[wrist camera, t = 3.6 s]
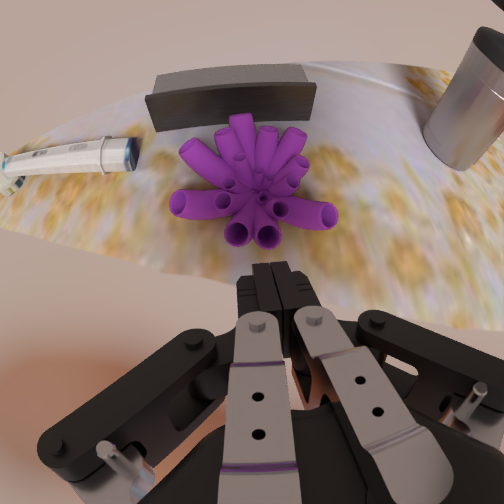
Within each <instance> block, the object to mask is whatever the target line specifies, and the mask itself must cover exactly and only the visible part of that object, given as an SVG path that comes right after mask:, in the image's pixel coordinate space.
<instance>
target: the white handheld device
mask: <svg viewBox="0 0 504 504" xmlns="http://www.w3.org/2000/svg"><path fill="white" fill-rule="evenodd" d="M138 157H139V144H138V140H137V137H136V138H112V137H111V136H103V137H102V139H101V140H93V141H86V142H79V143H73V144H67V145H61V146H55V147H50V148H45V149H40V150H35V151H30V152H26V153H21V154H17V155H13V156H9V157H8V155H6V154H5V153H2V152H0V193H1V194H2V195H4V196H11V194H12V193H14V192H15V191H18V189H19V188H20V187H21V185H22V184H23V181H24V179H25V176H26V175H39V174H55V173H77V172H101V173H102V175H106V174H108V173H110V172H117V171H134V170H135V168H136V164H137V161H138Z"/></svg>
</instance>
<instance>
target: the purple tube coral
mask: <svg viewBox="0 0 504 504" xmlns="http://www.w3.org/2000/svg"><path fill="white" fill-rule="evenodd" d="M214 138H215V142H216V146H217V149H218V151H219V154H220V156H221V157H219V156H218V155H217V154H215V153H214V152H213V151H212V150H211V149H209V148H208V147H207V146H206V145H205V144H204V143H202V142H201V141H200V140H199V139H197V138H192V139H190V140H188V141H187V142H186V143H185V144H184V145H183V146H182V147H181V148H180V150H179V155H180V156H181V158H182V159H183V160H184V161H185V162H186V164H187V165H188V166H189V167H190V168H191V169H193V170H194V171H195V172H196V173H197V174H198V175H199V176H201V177H202V178H203V179H205V180H206V181H207V182H209V183H211V184H212V185H214V186H215V187H217V188H219V189H216V190H186V189H180V190H177V191H175V192H174V193H173V195H172V196H171V198H170V203H169V207H170V211H171V213H173V214H174V215H175V216H178V217H181V218H185V219H190V220H208V219H216V218H221V217H226V216H230V215H233V217H232V219H231V220H230V221H229V223H228V224H227V226H226V228H225V230H224V236H225V239H226V241H227V242H228V243H229V244H230V245H232V246H235V247H240V246H244V245H246V244H247V243H249V242H250V241H251V239H252V238H253V239H254V241H255V243H256V244H257V245H258V246H259V247H261V248H263V249H268V250H270V249H274V248H275V247H277V246H278V245H279V243H280V241H281V236H282V235H281V230H280V228H279V225H278V223H277V221H280V220H281V221H283V222H286V223H288V224H291V225H293V226H296V227H300V228H303V229H308V230H328V229H331V228H333V227H334V226H335V225H336V223H337V221H338V212H337V209H336V207H335V206H334V205H333V204H331V203H328V202H319V201H312V200H306V199H302V198H298V197H295V196H292V194H293V193H295V191H296V190H297V189H298V188H299V186H300V181H299V180H300V179H301V178H302V177H303V176H304V175H305V173H306V172H307V171H308V169H309V167H310V163H309V161H308V160H307V159H306V158H305V157H303V156H301V155H300V153H301V151H302V149H303V147H304V145H305V142H306V139H307V135H306V133H304V132H303V131H301V130H299V129H297V128H294V127H289V128H287V130H286V131H285V133H284V134H283V136H282V138H281V139H280V141H279V143H278V139H279V131H278V129H277V128H275V127H271V126H261V127H260V128H259V132H258V135H257V134H256V129H255V125H254V121H253V117H252V114H251V113H242V114H236V115H231V116H230V117H229V127H227V128H223V129H221V130H219V131H217V132H215V134H214Z"/></svg>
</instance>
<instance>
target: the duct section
mask: <svg viewBox="0 0 504 504" xmlns="http://www.w3.org/2000/svg"><path fill="white" fill-rule="evenodd" d="M316 88H317V86H316V83H312V82H308V80H307V78H306V75H305V73H304V71H303V68H302V66H301V65H290V64H264V65H263V64H261V65H238V66H225V67H214V68H203V69H195V70H188V71H181V72H175V73H169V74H164V75H158V76H157V78H156V82H155V85H154V89H153V93H152V94H151V95H146V97H145V102H146V105H147V108H148V111H149V113H150V116H151V119H152V122H153V125H154V128H155V130H156V132H162V131H168V130H175V129H182V128H190V127H198V126H206V125H216V124H227V123H229V117H230V116H231V115H236V114H242V113H251V114H252V117H253V121H254V122H258V121H291V120H308V121H309V120H310V116H311V111H312V107H313V102H314V98H315V93H316Z"/></svg>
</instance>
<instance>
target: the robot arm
mask: <svg viewBox="0 0 504 504" xmlns="http://www.w3.org/2000/svg"><path fill="white" fill-rule="evenodd" d="M492 1H493V2H494V3H495V4H496V5H497V6H498V7H499V8H500V9H502V10H503V11H504V0H492ZM503 131H504V34H503V33H500V32H498V31H495V30H493V29H491V28H488V27H480V28H479V29H478V30H477V32H476V34H475V36H474V38H473V40H472V42H471V44H470V46H469V48H468V50H467V52H466V54H465V56H464V58H463V60H462V62H461V64H460V65H459V67H458V69H457V71H456V73H455V75H454V76H453V78H452V80H451V82H450V83H449V85H448V87H447V89H446V90H445V92H444V94H443V96H442V97H441V99H440V101H439V102H438V104H437V106H436V107H435V109H434V111H433V112H432V114H431V116H430V117H429V119H428V121H427V122H426V124H425V125H424V128H423V135H424V138H425V141H426V143H427V144H428V146H429V148H430V149H431V150H432V151H433V153H434V154H435V155H436V156H437V157H438V158H439V159H440V160H441V161H443V162H444V163H445V164H447V165H448V166H450V167H452V168H454V169H456V170H461V171H464V170H467V169H468V168H469V167H470V166H471V165H472V164H475V163H476V162H477V161H478V160H479V159H480V158H481V157H482V155H483V154H484V153H485V152H486V151H487V150H488V149H489V148H490V146H491V145H492V144H493V143H494V142H495V141H496V139H497V138H498V137H499V136H500V135H501V133H502V132H503ZM236 285H237V302H238V321H237V323H236V326H235V328H234V329H232V330H231V331H229V332H227V333H225V334H223V335H219V336H216V337H214V335H213V334H212V333H211V332H209V331H207V330H204V329H190V330H186V331H184V332H182V333H180V334H179V335H177V336H176V337H175V338H173V339H172V340H171V341H169V342H168V343H167V344H165V345H164V346H163V347H162V348H160V349H159V350H157V351H156V352H155V353H153V354H152V355H151V356H149V357H148V358H147V359H145V360H144V361H143V362H141V363H140V364H139V365H137V366H136V367H134V368H133V369H132V370H131V371H129V372H128V373H126V374H125V375H124V376H122V377H121V378H119V379H118V380H117V381H116V382H114V383H113V384H111V385H110V386H109V387H107V388H106V389H104V390H103V391H102V392H100V393H99V394H97V395H96V396H95V397H93V398H92V399H90V400H89V401H88V402H86V403H85V404H84V405H82V406H81V407H79V408H78V409H76V410H75V411H74V412H72V413H71V414H69V415H68V416H66V417H65V418H64V419H62V420H61V421H59V422H58V423H57V424H55V425H54V426H52V427H51V428H49V429H48V430H46V431H45V432H44V433H43V434H42V435H41V437H40V438H39V441H38V444H37V453H38V456H39V458H40V460H41V461H42V462H43V463H44V464H45V465H46V466H47V467H49V468H50V469H51V470H52V471H54V472H55V473H56V474H57V475H58V476H59V477H60V478H61V479H63V480H64V481H65V482H67V483H68V484H69V485H71V487H72V488H73V489H74V491H75V492H76V493H77V494H78V496H79V497H80V498H81V500H82V501H83V502H84V503H85V504H504V454H503V453H502V452H501V451H499V448H500V445H501V441H502V438H503V434H504V360H502V359H499V358H497V357H494V356H491V355H489V354H487V353H484V352H482V351H479V350H476V349H474V348H472V347H469V346H467V345H465V344H462V343H460V342H457V341H455V340H452V339H450V338H447V337H445V336H442V335H440V334H438V333H435V332H433V331H430V330H428V329H425V328H423V327H421V326H418V325H416V324H413V323H411V322H408V321H406V320H403V319H401V318H399V317H396V316H394V315H391V314H389V313H387V312H384V311H380V310H368V311H365V312H363V313H362V314H361V315H360V316H359V318H358V322H355V321H342V320H337V319H336V318H335V316H334V315H333V313H332V312H331V311H330V310H328V309H326V308H324V307H322V306H321V304H320V302H319V300H318V298H317V296H316V294H315V292H314V290H313V288H312V286H311V284H310V281H309V279H308V277H307V276H306V275H304V274H303V273H302V272H300V271H294V272H291V270H290V268H289V266H288V263H287V261H282V262H270V264H269V263H259V264H252V275H249V276H241V277H240V278H239V280H238V281H237V283H236ZM282 354H283V358H291V361H292V376H293V379H294V381H295V384H296V387H297V390H298V393H299V396H300V398H301V401H302V404H303V407H304V410H290V402H289V394H288V385H287V376H286V368H285V362H284V361H283V360H282ZM387 355H390V356H392V357H394V358H396V359H399V360H400V361H403V362H405V363H407V364H409V365H412V366H413V367H415V368H416V369H417V371H418V374H419V375H417V376H415V375H411V374H409V373H407V372H405V371H403V370H400V369H398V368H396V367H394V366H392V365H390V364H388V363H386V362H385V360H386V357H387ZM226 395H228V398H227V411H226V424H225V425H223V426H221V427H219V428H217V429H215V430H214V431H212V432H211V433H209V434H208V435H206V436H205V437H204V438H203V439H202V440H201V441H200V442H199V443H198V444H197V445H196V446H195V447H194V448H193V449H192V450H191V451H190V452H189V453H188V454H187V455H186V456H185V457H184V459H183V460H181V461H180V463H179V464H178V465H177V466H176V467H175V468H174V469H173V470H172V471H171V472H170V473H169V474H168V475H166V476H165V477H164V478H163V479H162V480H161V481H160V482H159V483H158V484H157V485H156V486H155V487H154V488H153V489H152V490H151V491H150V492H149V490H150V489H151V488H152V487H153V485H154V482H155V472H154V470H153V468H154V467H155V466H157V465H158V464H159V463H160V462H161V461H162V460H163V459H164V458H166V456H168V455H169V454H170V453H171V452H172V451H173V450H174V449H175V448H176V447H178V446H179V445H180V444H181V443H182V442H183V441H184V440H185V439H186V438H187V437H188V436H189V435H190V434H191V433H192V432H193V431H194V430H195V429H196V428H197V427H199V426H200V425H201V424H202V422H204V420H206V419H207V418H208V416H210V415H211V414H212V413H213V412H214V411H215V410H216V409H217V408H218V407H219V405H220V404H221V403H222V402H223V401H224V399H225V396H226ZM148 492H149V493H148ZM147 493H148V494H147Z"/></svg>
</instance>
